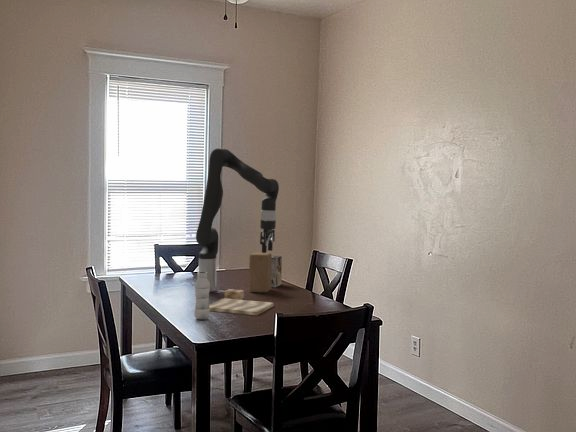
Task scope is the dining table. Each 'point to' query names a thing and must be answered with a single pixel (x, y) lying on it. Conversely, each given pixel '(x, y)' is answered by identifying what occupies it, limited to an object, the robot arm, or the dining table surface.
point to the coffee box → (276, 270)
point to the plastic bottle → (202, 297)
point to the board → (240, 306)
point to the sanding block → (234, 294)
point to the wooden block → (260, 272)
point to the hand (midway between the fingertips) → (267, 251)
